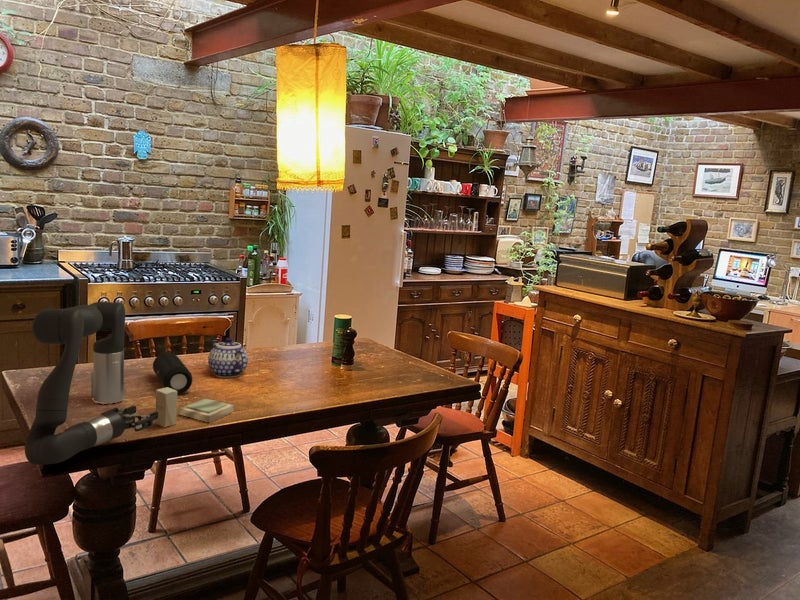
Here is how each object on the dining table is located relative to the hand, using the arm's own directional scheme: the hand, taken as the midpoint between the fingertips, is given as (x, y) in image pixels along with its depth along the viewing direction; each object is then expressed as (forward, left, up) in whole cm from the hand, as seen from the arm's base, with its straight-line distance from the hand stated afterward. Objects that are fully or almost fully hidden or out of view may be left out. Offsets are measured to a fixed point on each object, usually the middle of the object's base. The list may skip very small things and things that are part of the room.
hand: (146, 411), depth 189 cm
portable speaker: (-25, +38, -7) cm, 46 cm away
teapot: (-18, +61, -7) cm, 64 cm away
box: (0, +8, -7) cm, 11 cm away
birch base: (+4, +22, -6) cm, 23 cm away
